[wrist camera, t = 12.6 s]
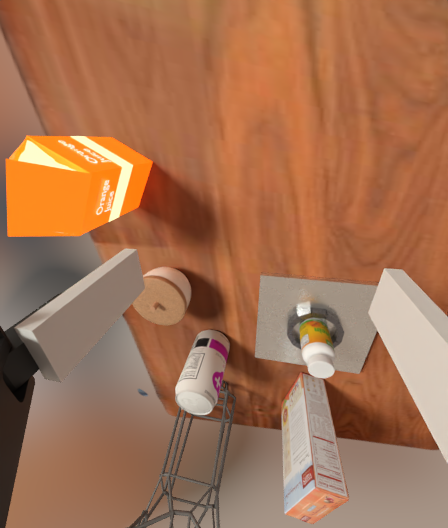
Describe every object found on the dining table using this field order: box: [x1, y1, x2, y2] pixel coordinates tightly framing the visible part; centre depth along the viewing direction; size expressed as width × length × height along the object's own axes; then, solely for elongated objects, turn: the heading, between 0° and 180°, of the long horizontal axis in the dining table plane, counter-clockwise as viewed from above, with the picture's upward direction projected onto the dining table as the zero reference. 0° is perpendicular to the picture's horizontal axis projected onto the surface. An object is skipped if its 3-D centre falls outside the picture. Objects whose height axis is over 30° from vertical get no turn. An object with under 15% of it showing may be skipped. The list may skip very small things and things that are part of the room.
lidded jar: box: [132, 267, 191, 325], centre depth 44 cm, size 11×11×9 cm
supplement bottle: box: [299, 318, 335, 378], centre depth 41 cm, size 5×5×10 cm
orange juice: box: [6, 136, 153, 236], centre depth 30 cm, size 8×9×20 cm
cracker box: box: [282, 372, 349, 524], centre depth 47 cm, size 14×6×21 cm, turn 168°
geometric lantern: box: [129, 380, 236, 528], centre depth 48 cm, size 16×16×35 cm
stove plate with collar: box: [255, 272, 379, 374], centre depth 45 cm, size 22×22×3 cm
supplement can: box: [175, 330, 230, 415], centre depth 48 cm, size 8×8×15 cm
